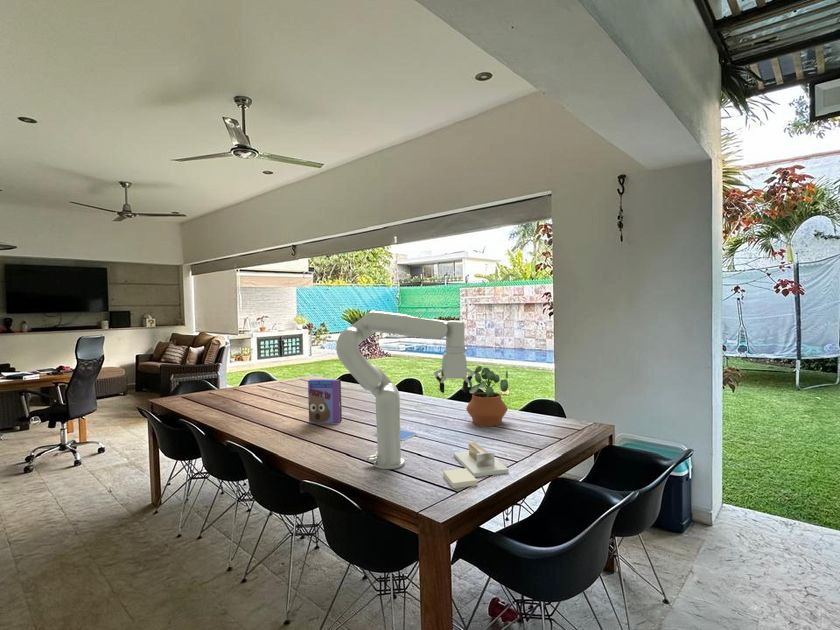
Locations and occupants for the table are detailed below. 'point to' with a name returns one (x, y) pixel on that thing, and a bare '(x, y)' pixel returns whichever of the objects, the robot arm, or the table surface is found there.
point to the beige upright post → (481, 455)
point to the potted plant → (487, 399)
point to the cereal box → (324, 401)
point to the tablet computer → (404, 434)
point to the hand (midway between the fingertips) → (453, 392)
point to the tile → (460, 478)
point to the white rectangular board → (479, 471)
